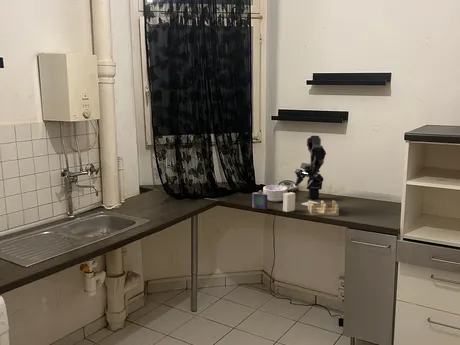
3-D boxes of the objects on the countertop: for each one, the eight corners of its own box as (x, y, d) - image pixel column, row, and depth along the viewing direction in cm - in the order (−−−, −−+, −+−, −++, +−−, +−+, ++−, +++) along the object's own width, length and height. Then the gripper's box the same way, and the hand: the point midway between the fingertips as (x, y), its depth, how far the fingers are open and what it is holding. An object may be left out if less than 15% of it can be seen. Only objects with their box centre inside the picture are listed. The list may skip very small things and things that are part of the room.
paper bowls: (267, 203, 287) (267, 190, 286) (260, 197, 302) (260, 185, 300) (291, 202, 291) (291, 189, 289) (282, 196, 305) (282, 184, 304)
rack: (307, 208, 276) (308, 199, 275) (333, 208, 276) (334, 200, 275) (311, 215, 262) (311, 206, 261) (338, 215, 262) (339, 206, 261)
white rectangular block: (282, 210, 272) (283, 193, 270) (290, 208, 275) (291, 192, 273) (287, 212, 269) (287, 194, 267) (294, 210, 273) (295, 193, 271)
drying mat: (301, 204, 285) (301, 203, 285) (311, 201, 291) (311, 200, 291) (316, 208, 276) (316, 207, 276) (326, 205, 282) (326, 204, 282)
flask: (251, 208, 278) (251, 190, 275) (253, 206, 280) (253, 189, 278) (266, 209, 274) (266, 191, 272) (268, 208, 276) (268, 190, 274)
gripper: (297, 155, 279) (283, 176, 275) (320, 159, 264) (306, 181, 260) (306, 167, 285) (292, 187, 281) (329, 172, 271) (315, 193, 266)
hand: (301, 187), depth 272 cm, fingers open, 9 cm apart
